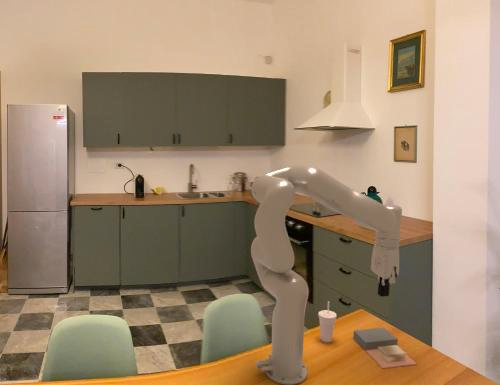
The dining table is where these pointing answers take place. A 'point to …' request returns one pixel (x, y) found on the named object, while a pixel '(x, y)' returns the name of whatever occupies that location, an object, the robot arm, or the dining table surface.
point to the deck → (374, 338)
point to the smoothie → (327, 324)
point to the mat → (385, 365)
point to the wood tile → (391, 353)
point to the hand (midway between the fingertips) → (383, 295)
